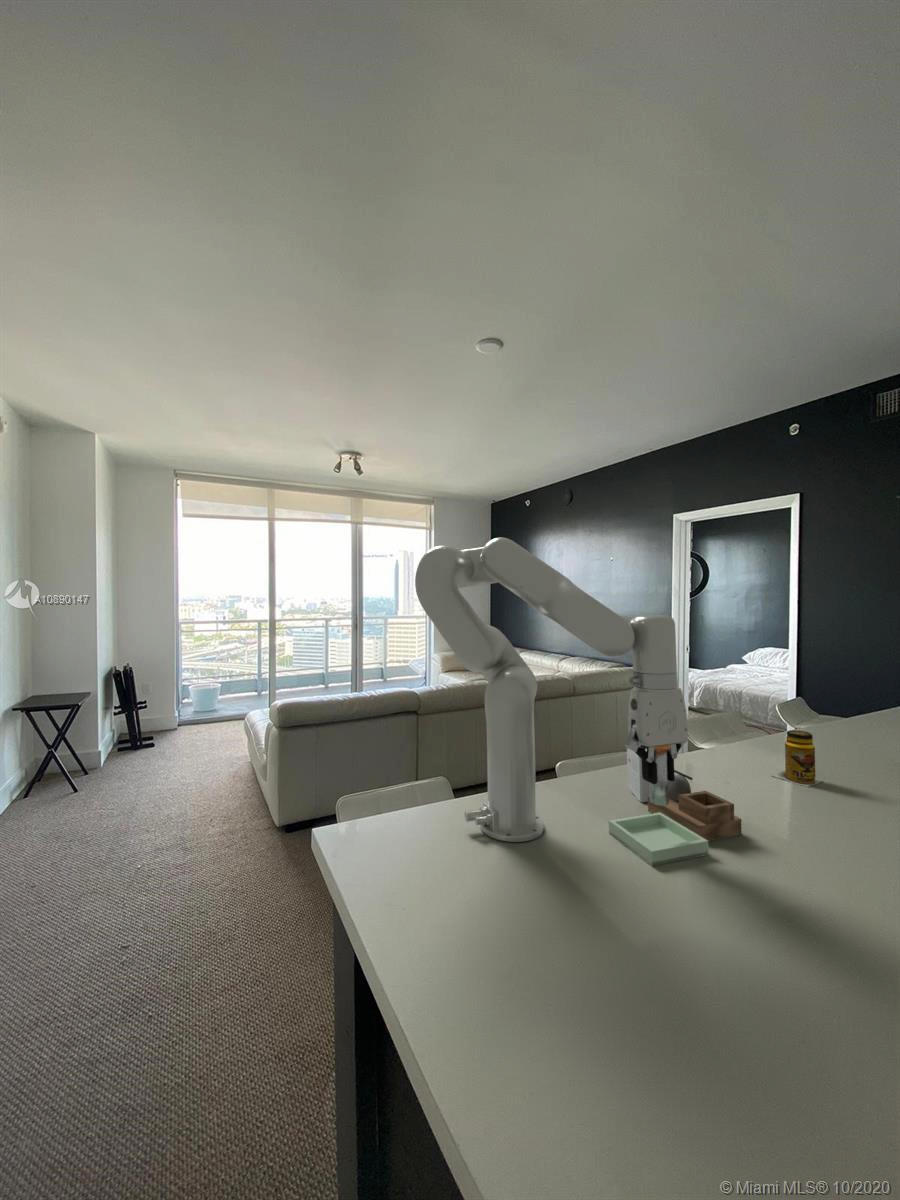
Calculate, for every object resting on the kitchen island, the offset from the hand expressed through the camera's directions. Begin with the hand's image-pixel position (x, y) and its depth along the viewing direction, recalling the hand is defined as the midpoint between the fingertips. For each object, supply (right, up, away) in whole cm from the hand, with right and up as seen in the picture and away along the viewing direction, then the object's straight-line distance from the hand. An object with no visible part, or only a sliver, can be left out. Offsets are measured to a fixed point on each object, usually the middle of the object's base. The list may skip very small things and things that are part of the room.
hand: (658, 779), depth 87 cm
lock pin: (0, -4, 0) cm, 4 cm away
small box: (+7, -12, +22) cm, 26 cm away
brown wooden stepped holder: (+11, -12, +9) cm, 18 cm away
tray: (0, -12, 0) cm, 12 cm away
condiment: (+49, -12, +31) cm, 59 cm away
